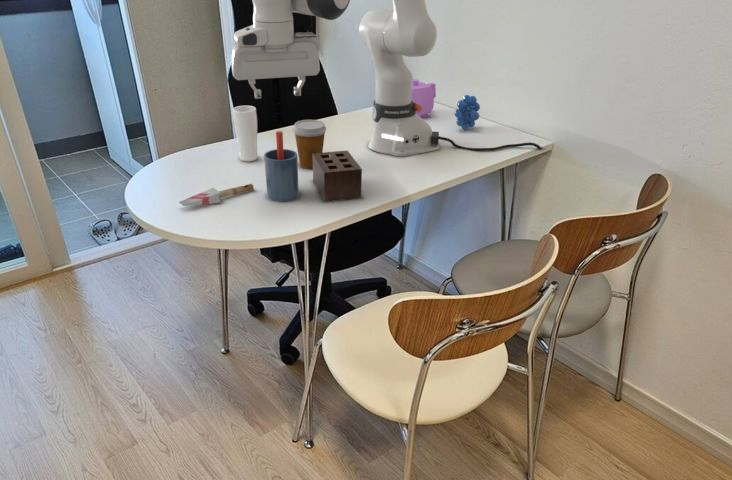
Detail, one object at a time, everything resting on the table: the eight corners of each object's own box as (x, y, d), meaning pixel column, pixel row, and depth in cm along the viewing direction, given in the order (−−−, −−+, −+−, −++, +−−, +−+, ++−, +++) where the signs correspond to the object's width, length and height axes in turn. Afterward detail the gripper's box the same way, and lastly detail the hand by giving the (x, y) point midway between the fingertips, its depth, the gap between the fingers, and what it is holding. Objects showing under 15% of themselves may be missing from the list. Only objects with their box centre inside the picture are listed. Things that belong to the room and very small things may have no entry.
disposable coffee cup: (331, 161, 166) (330, 121, 160) (320, 172, 159) (319, 131, 152) (301, 157, 168) (300, 117, 162) (289, 168, 161) (287, 127, 154)
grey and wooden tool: (177, 195, 137) (248, 179, 148) (178, 206, 139) (248, 189, 149) (183, 201, 135) (255, 184, 146) (185, 211, 136) (256, 194, 147)
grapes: (462, 136, 186) (467, 100, 179) (448, 131, 191) (452, 95, 184) (486, 129, 192) (491, 94, 185) (471, 124, 196) (476, 90, 190)
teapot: (422, 107, 214) (425, 73, 207) (443, 115, 205) (447, 80, 198) (379, 115, 205) (381, 79, 198) (399, 124, 196) (402, 87, 189)
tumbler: (295, 187, 150) (293, 147, 144) (301, 199, 143) (299, 158, 137) (265, 190, 148) (262, 150, 142) (269, 203, 141) (266, 161, 135)
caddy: (347, 177, 156) (347, 150, 151) (361, 198, 145) (362, 169, 140) (313, 181, 153) (312, 153, 149) (324, 202, 142) (324, 172, 138)
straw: (285, 190, 146) (281, 130, 137) (286, 193, 145) (282, 132, 136) (279, 191, 146) (275, 131, 137) (280, 193, 144) (276, 133, 136)
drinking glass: (255, 163, 164) (251, 112, 155) (234, 162, 165) (228, 111, 156) (263, 155, 169) (259, 106, 161) (242, 154, 170) (237, 104, 162)
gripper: (316, 29, 129) (317, 90, 137) (227, 33, 125) (234, 96, 132) (322, 34, 124) (323, 97, 132) (229, 38, 120) (236, 103, 127)
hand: (278, 96), depth 132 cm, fingers open, 8 cm apart
